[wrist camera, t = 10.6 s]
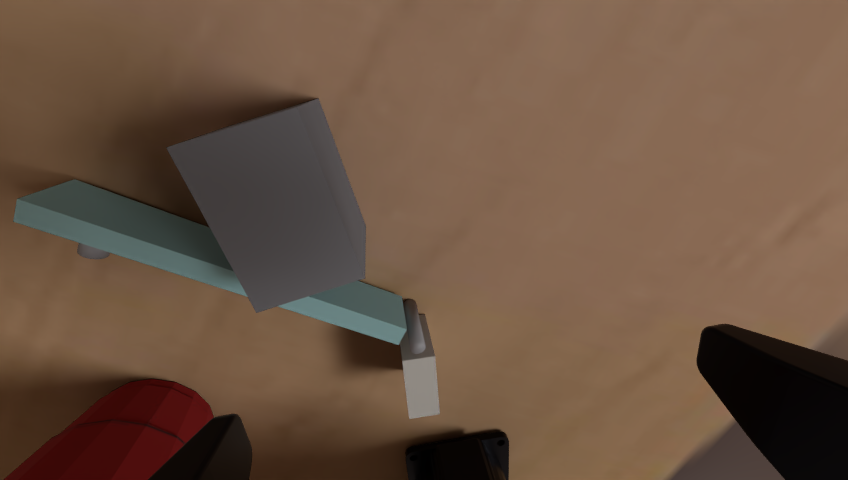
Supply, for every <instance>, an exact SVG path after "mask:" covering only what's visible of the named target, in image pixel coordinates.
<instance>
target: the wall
mask: <svg viewBox="0 0 848 480" xmlns="http://www.w3.org/2000/svg"><path fill="white" fill-rule="evenodd" d="M403 307H404V314H405V320H406V326H407V330H406V332H405V334H404V336H403V338H402V340H401V341H400V347H401V355H402V364H403V372H404V380H405V388H406V396H407V404H408V413H409V419H412V418H419V417H425V416H431V415H437V414H440V411H439V399H438V386H437V374H436V362H435V354H434V350H433V346H432V342H431V337H430V333H429V329H428V325H427V321H426V317H425V314H423V315H419V314H418V309H417V305H416V302H415V301H414V300H413V299H408V300H406V301H405V302H404V303H403Z"/></svg>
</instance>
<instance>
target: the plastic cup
mask: <svg viewBox="0 0 848 480" xmlns="http://www.w3.org/2000/svg"><path fill="white" fill-rule="evenodd" d="M212 418H214V417H213V414H212V411H211V408H210V406H209V404H208V403H207V402H206V401H205V400H204V399H203V398H202V397H201V396H200V395H199V394H198V393H197V392H195V391H193V390H191V389H189V388H187V387H185V386H182V385H180V384H178V383H176V382H170V381H163V380H156V379H149V380H141V381H134V382H129V383H127V384H125V385H123V386H121V387H119V388H118V389H116V390H114V391H112V392H111V393H109V394H108V395H106V396H105V397H103V398H101V399H99V400H98V401H97V402H96V403H95V404H94V405H93V406H91V407H90V408H89V409H88V410H87V411H86V412H84V413H83V414H82V415H81V416H80V417H79V418H78V419H76V420H75V421H74V422H73V423H72V424H71V425H70V426H68V427H67V428H66V429H65V430H64V431H63V432H61V433H60V434H58V435H56V436H54V437H52V438H51V439H50V440H49V441H48V442H46V443H45V444H44V445H43V446H42V447H41V448H39V449H38V450H37V451H36V452H35V453H34V454H33V455H31V456H30V457H29V458H28V459H27V460H26V461H24V462H23V463H22V464H21V465H20V466H19V467H18V468H16V469H15V470H14V471H13V472H12V473H11V474H9V475H8V476H7V477H6V478H5V479H4V480H148V479H149V478H150V477H151V476H152V475H153V474H154V473H155V472H156V471H157V470H158V469H159V468H160V467H161V466H162V465H164V464H165V463H166V462H167V461H168V460H169V459H170V458H171V457H172V456H173V455H174V454H175V453H176V452H177V451H178V450H179V449H180V448H181V447H182V446H183V445H184V444H186V443H187V442H188V441H189V440H190V439H191V438H192V437H193V436H194V435H195V434H196V433H197V432H198V431H199V430H200V429H201V428H202V427H203V426H204V425H205V424H207V423H208V422H209V421H210V420H211V419H212Z"/></svg>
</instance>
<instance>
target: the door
mask: <svg viewBox="0 0 848 480" xmlns="http://www.w3.org/2000/svg"><path fill="white" fill-rule="evenodd" d="M13 222H16V223H19V224H22V225H25V226H29V227H32V228H35V229H38V230H41V231H44V232H47V233H50V234H54V235H57V236H60V237H63V238H66V239H69V240H72V241H75V242H78V243H79V245H78V249H77V253H78V254H79V255H81V256H83V257H85V258H89V259H103V258H106V257H108V256H109V254H110V253H113V254H116V255H119V256H122V257H125V258H128V259H131V260H135V261H138V262H141V263H144V264H147V265H150V266H153V267H156V268H160V269H163V270H166V271H169V272H172V273H175V274H178V275H181V276H184V277H188V278H191V279H194V280H197V281H200V282H203V283H206V284H209V285H213V286H216V287H219V288H222V289H225V290H228V291H231V292H234V293H237V294H241V295H244V296H247V295H246V293H245V291H244V289H243V287H242V285H241V284H240V282H239V280H238V278H237V276H236V274H235V273H234V271H233V269H232V267H231V265H230V263H229V262H228V260H227V258H226V256H225V254H224V253H223V251H222V249H221V247H220V245H219V243H218V242H217V240H216V238H215V236H214V234H213V232H212V231H211V229H210V228H209V227H207V226H204V225H201V224H198V223H195V222H193V221H190V220H187V219H184V218H181V217H179V216H176V215H173V214H170V213H167V212H165V211H162V210H159V209H156V208H154V207H151V206H148V205H145V204H142V203H140V202H137V201H134V200H131V199H128V198H126V197H123V196H120V195H117V194H114V193H112V192H109V191H106V190H103V189H101V188H98V187H95V186H92V185H89V184H87V183H84V182H81V181H78V180H75V179H74V180H71V181H68V182H65V183H62V184H59V185H56V186H53V187H50V188H47V189H44V190H42V191H39V192H36V193H33V194H30V195H27V196H24V197H21V198H18V199H17V202H16V208H15V215H14V221H13ZM247 297H248V296H247ZM278 307H281V308H284V309H287V310H291V311H294V312H297V313H300V314H303V315H306V316H309V317H312V318H315V319H319V320H322V321H325V322H328V323H331V324H334V325H337V326H340V327H344V328H347V329H350V330H353V331H356V332H359V333H362V334H365V335H368V336H372V337H375V338H378V339H381V340H384V341H387V342H390V343H393V344H397V345H399V343H400V341H401V340H402V338H403V336H404V334H405V332H406V330H407V326H406V320H405V314H404V307H403V301H402V296H399V295H396V294H393V293H391V292H388V291H385V290H382V289H379V288H377V287H374V286H371V285H368V284H365V283H363V282H360V281H355V282H352V283H349V284H346V285H343V286H339V287H336V288H333V289H330V290H327V291H324V292H321V293H317V294H314V295H311V296H308V297H305V298H302V299H298V300H295V301H292V302H289V303H286V304H283V305H280V306H278Z"/></svg>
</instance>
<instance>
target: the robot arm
mask: <svg viewBox="0 0 848 480" xmlns="http://www.w3.org/2000/svg"><path fill="white" fill-rule="evenodd" d="M697 366H698V369H699V371H700V373H701V374H702V376H703V377H704V378H705V380H706V381H707V382H708V384H709V385H710V386H711V388H712V389H713V390H714V392H715V393H716V394H717V396H718V397H719V398H720V400H721V401H722V402H723V404H724V405H725V406H726V408H727V409H728V410H729V412H730V413H731V414H732V416H733V417H734V418H735V420H736V421H737V422H738V423H739V425H740V426H741V428H742V429H743V430H744V432H745V433H746V434H747V436H748V437H749V438H750V439H751V441H752V442H753V443H754V444H755V446H756V447H757V448H758V449H759V450H760V452H761V453H762V454H763V455H764V456H765V457H766V459H767V460H768V461H769V462H770V463H771V464H772V465H773V467H774V468H775V469H776V470H777V471H778V472H779V473H780V474H781V476H782V477H783V478H784V479H785V480H848V361H847V360H844V359H841V358H838V357H834V356H831V355H828V354H824V353H821V352H818V351H815V350H811V349H808V348H805V347H802V346H798V345H795V344H792V343H789V342H785V341H782V340H779V339H775V338H772V337H769V336H766V335H762V334H759V333H756V332H753V331H749V330H746V329H743V328H740V327H736V326H733V325H730V324H719V325H714V326H708V327H706V328H704V330H703V331H702V333H701V337H700V343H699V348H698V354H697ZM405 456H406V464H407V472H408V480H508V473H509V441H508V438H507V435H506V434H505V433H504V432H495V433H489V434H483V435H477V436H471V437H465V438H459V439H453V440H448V441H442V442H436V443H430V444H424V445H418V446H412V447H409V448H408V449H407V450H406V452H405ZM251 463H252V447H251V444H250V441H249V439H248V436H247V433H246V431H245V428H244V425H243V423H242V420H241V418H240V417H239V416H238V415H237V414H229V415H223V416H218V417H215V418H212V419H211V420H210V421H209V422H208V423H207V424H205V425H204V426H203V427H202V428H201V429H200V430H199V431H198V432H197V433H196V434H195V435H194V436H193V437H192V438H191V439H190V440H189V441H188V442H187V443H186V444H184V445H183V446H182V447H181V448H180V449H179V450H178V451H177V452H176V453H175V454H174V455H173V456H172V457H171V458H170V459H169V460H168V461H167V462H166V463H165V464H164V465H162V466H161V467H160V468H159V469H158V470H157V471H156V472H155V473H154V474H153V475H152V476H151V477H150V478H149V479H148V480H249V476H250V470H251Z"/></svg>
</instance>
